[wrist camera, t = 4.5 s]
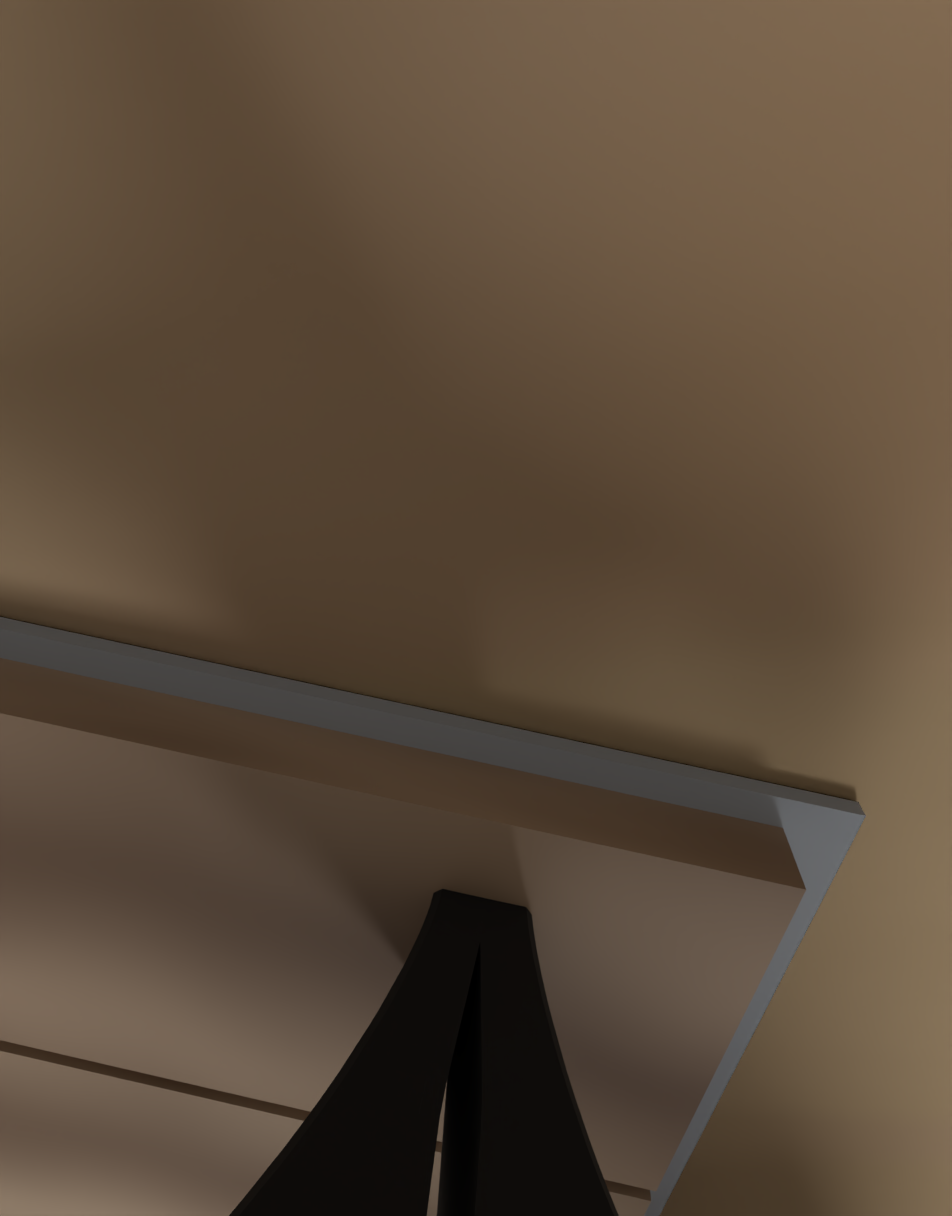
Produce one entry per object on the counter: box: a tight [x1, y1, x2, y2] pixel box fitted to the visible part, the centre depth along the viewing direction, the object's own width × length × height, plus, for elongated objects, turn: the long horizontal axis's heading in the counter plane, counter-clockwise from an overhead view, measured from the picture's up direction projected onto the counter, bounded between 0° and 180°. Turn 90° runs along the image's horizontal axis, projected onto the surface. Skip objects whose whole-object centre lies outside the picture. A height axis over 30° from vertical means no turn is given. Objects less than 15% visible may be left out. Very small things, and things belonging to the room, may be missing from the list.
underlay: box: [0, 617, 866, 1216], centre depth 14 cm, size 14×16×1 cm
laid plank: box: [0, 1040, 651, 1216], centre depth 15 cm, size 6×14×1 cm, turn 80°
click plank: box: [0, 658, 806, 1191], centre depth 12 cm, size 7×14×1 cm, turn 80°
